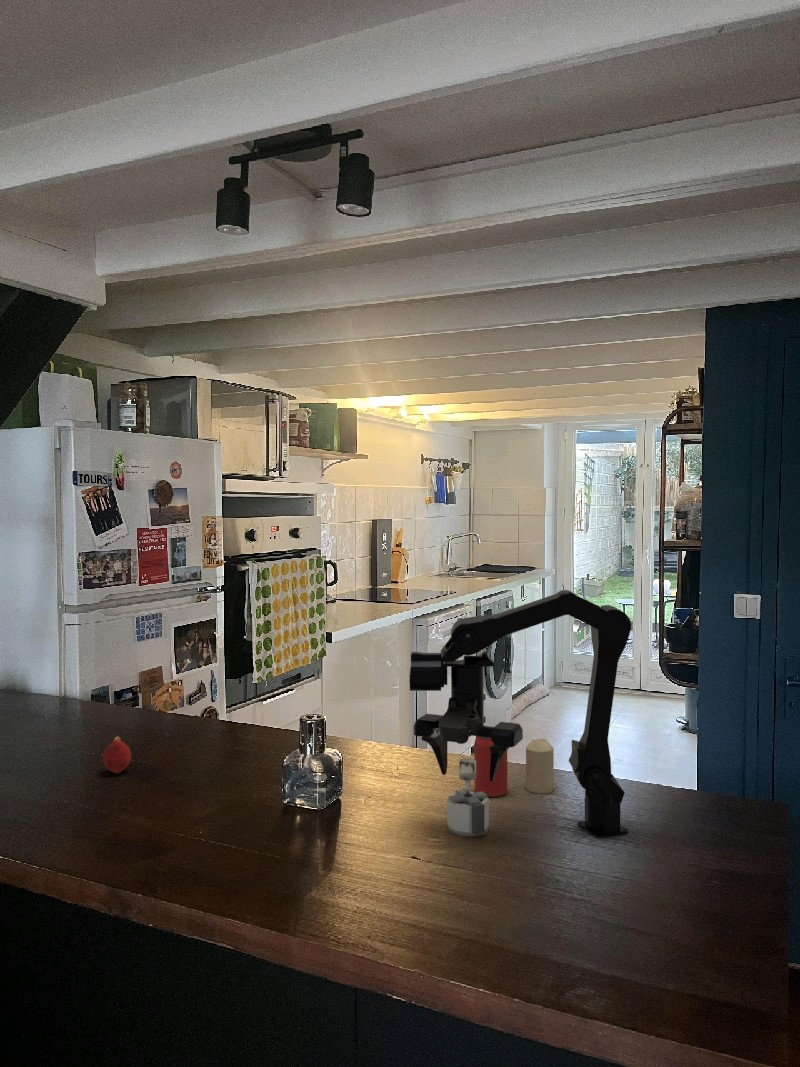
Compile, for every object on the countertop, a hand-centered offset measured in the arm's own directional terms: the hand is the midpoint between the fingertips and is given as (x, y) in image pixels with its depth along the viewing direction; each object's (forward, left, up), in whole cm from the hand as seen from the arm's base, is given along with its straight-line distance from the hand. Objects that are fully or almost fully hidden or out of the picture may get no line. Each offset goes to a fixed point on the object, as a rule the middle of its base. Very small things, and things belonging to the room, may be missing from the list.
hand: (467, 777), depth 146 cm
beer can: (+15, -12, -9) cm, 21 cm away
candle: (+13, -22, -9) cm, 27 cm away
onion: (+55, +58, -9) cm, 80 cm away
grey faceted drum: (0, 0, -9) cm, 9 cm away
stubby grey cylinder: (0, 0, -5) cm, 5 cm away
